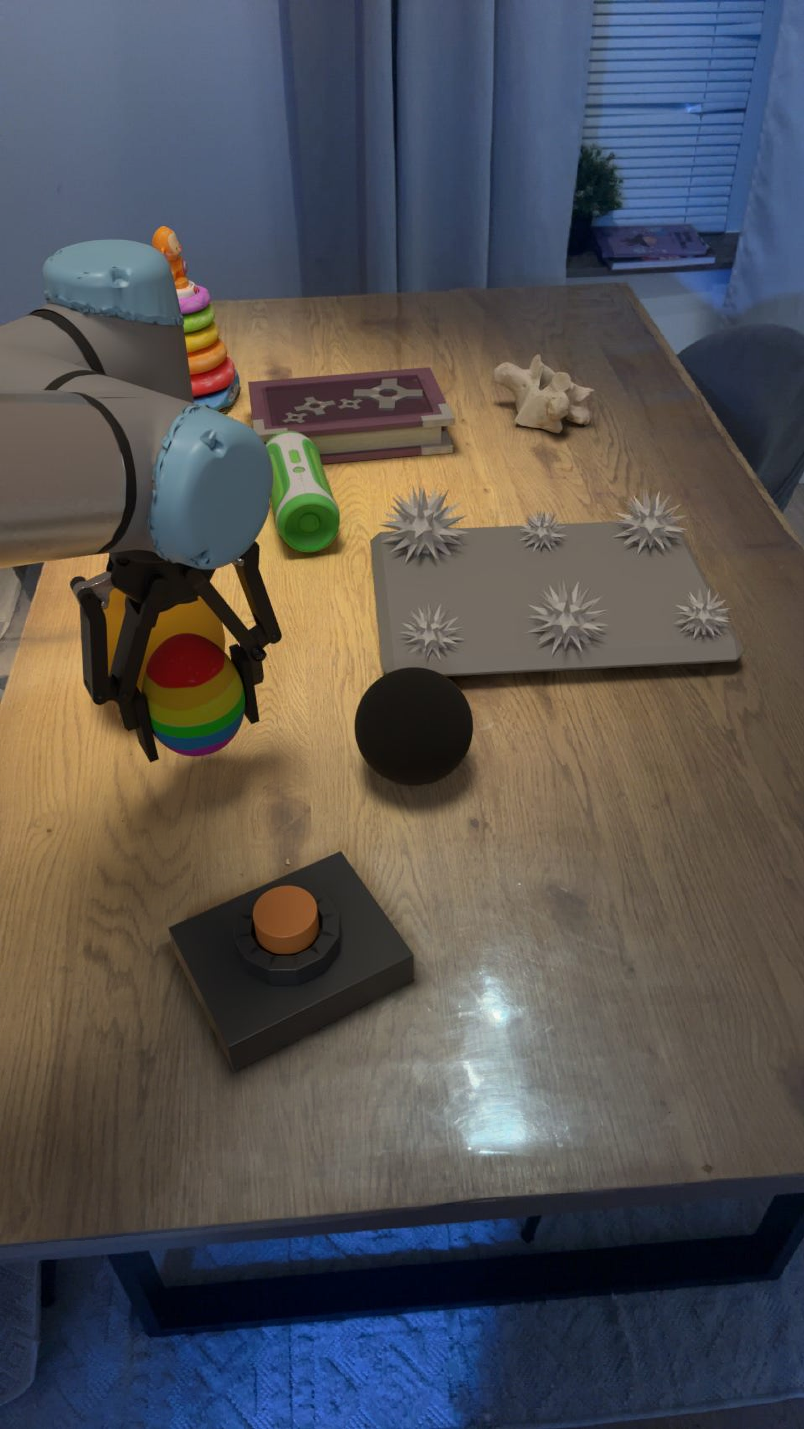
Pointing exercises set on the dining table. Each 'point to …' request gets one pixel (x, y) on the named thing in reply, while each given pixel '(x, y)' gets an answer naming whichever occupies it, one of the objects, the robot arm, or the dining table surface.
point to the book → (357, 413)
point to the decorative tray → (543, 594)
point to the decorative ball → (413, 726)
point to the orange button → (286, 920)
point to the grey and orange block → (291, 963)
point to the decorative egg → (193, 695)
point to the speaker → (301, 493)
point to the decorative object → (544, 395)
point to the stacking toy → (199, 332)
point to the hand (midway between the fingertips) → (199, 731)
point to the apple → (164, 626)
